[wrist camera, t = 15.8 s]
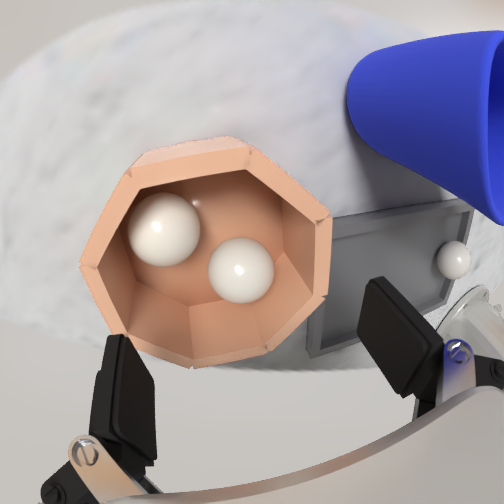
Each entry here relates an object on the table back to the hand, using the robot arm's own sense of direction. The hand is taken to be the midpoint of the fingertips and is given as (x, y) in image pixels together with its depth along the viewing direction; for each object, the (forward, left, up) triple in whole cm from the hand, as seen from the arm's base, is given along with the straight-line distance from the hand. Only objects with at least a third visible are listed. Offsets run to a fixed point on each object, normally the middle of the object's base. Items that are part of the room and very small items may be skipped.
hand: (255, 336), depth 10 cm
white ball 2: (+1, -1, -6) cm, 6 cm away
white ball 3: (-19, +4, -7) cm, 21 cm away
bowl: (+1, -1, -7) cm, 8 cm away
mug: (-12, -7, -8) cm, 16 cm away
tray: (-14, +5, -7) cm, 17 cm away
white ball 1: (+2, -2, -7) cm, 7 cm away
